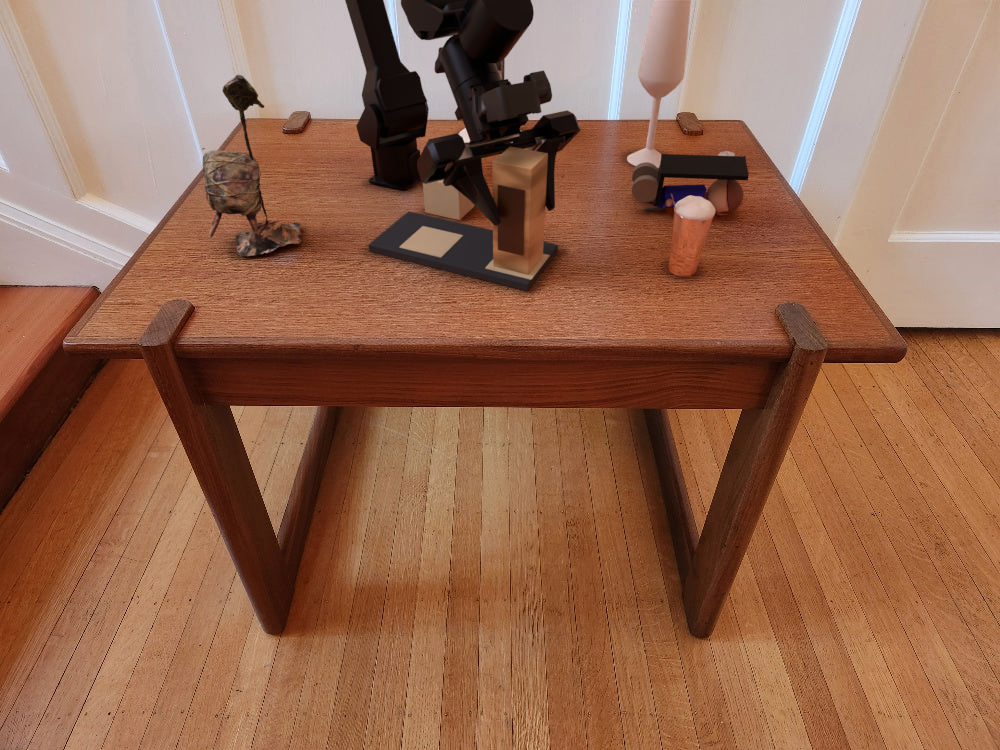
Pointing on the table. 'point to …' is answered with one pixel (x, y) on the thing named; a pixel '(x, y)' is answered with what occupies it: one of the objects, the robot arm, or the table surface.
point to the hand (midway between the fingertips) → (525, 216)
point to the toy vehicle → (720, 193)
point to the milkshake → (689, 233)
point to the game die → (726, 154)
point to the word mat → (453, 249)
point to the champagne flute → (662, 64)
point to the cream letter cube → (445, 200)
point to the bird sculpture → (243, 185)
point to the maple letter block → (519, 208)
